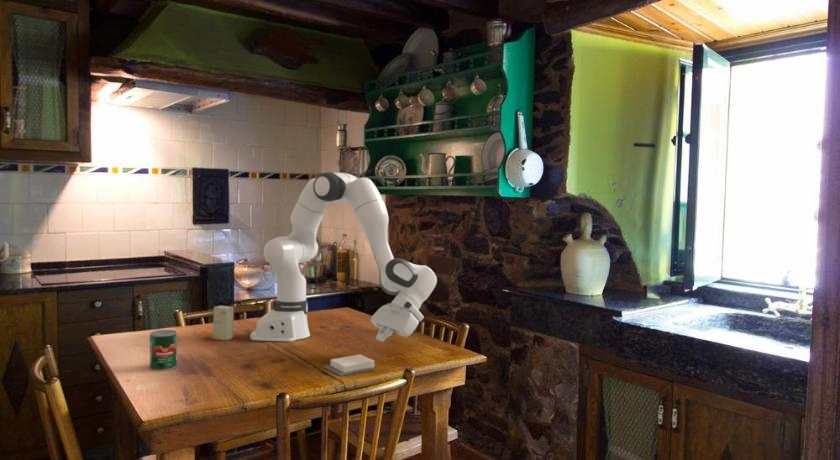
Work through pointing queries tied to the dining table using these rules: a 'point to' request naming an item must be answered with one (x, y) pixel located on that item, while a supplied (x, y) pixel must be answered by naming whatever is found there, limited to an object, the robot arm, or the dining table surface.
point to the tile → (352, 363)
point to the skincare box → (223, 322)
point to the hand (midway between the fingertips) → (379, 339)
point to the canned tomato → (163, 350)
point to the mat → (346, 372)
